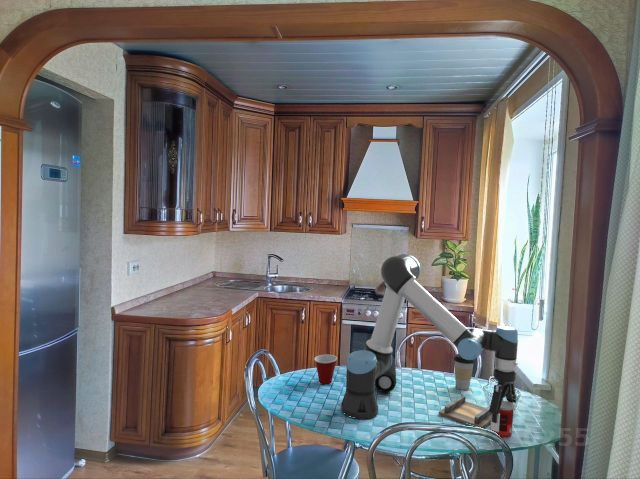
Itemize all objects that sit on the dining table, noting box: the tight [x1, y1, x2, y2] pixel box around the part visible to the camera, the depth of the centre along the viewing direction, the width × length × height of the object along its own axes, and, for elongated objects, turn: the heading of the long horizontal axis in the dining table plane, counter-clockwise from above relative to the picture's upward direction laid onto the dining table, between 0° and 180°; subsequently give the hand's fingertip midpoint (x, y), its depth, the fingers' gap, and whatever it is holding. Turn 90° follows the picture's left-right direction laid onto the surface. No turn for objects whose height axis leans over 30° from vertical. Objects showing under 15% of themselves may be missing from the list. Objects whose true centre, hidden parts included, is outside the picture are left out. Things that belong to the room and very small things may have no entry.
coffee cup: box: [453, 353, 476, 391], centre depth 219 cm, size 9×9×15 cm
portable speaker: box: [375, 359, 397, 393], centre depth 221 cm, size 26×10×10 cm, turn 172°
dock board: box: [438, 395, 491, 429], centre depth 190 cm, size 18×18×4 cm
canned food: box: [489, 400, 515, 438], centre depth 176 cm, size 8×8×11 cm
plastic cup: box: [313, 353, 338, 385], centre depth 219 cm, size 11×11×12 cm
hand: (501, 424), depth 176 cm, fingers open, 13 cm apart
